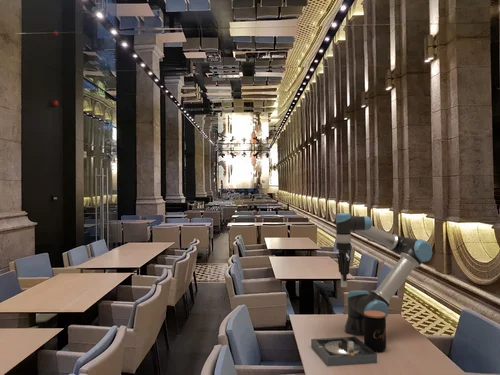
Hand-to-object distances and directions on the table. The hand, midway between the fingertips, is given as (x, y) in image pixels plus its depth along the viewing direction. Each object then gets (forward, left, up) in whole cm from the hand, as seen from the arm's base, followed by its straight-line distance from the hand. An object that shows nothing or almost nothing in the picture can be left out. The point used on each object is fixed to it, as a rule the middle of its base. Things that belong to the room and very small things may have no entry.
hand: (343, 286), depth 216 cm
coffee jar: (-12, +11, -30) cm, 34 cm away
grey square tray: (+7, +15, -29) cm, 34 cm away
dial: (+7, +15, -27) cm, 32 cm away
